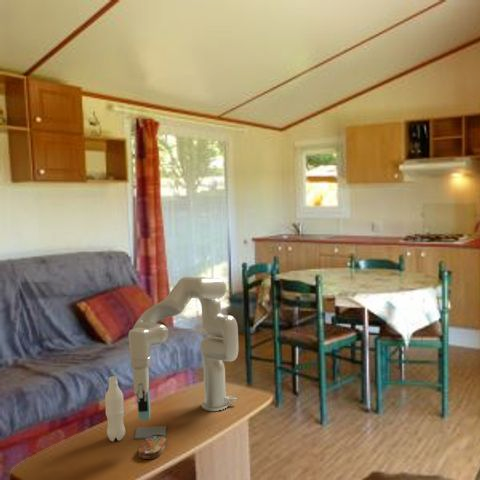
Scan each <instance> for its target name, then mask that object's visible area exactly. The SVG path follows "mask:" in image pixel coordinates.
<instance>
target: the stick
mask: <svg viewBox="0 0 480 480" xmlns="http://www.w3.org/2000/svg"><path fill="white" fill-rule="evenodd" d="M149 388H150V387H148V392H147V393H146V400H147V406H148V411H144V412H139V405H138V404H137V413H138V416H137V417H138V421H148V420H150V419H151V403H150V402H151V401H150V389H149ZM143 393H145V391H143ZM143 396H144V395H143ZM136 399H137V403H138V393H137V394H136Z"/></svg>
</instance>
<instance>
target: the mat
mask: <svg viewBox="0 0 480 480" xmlns="http://www.w3.org/2000/svg"><path fill="white" fill-rule="evenodd" d="M157 434H159V435H164V436H166V435H167V425H161V426H159V425H158V426H145V427H137V428H136V430H135V435H134V440H143V439H144V440H145V439H146V438H147V437H149V436H151V435H157Z"/></svg>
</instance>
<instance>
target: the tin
mask: <svg viewBox="0 0 480 480" xmlns="http://www.w3.org/2000/svg"><path fill="white" fill-rule="evenodd" d="M167 439H168V438H167V436H166V435H165V436H164V435H159V434H157V435H151V436H149V437H147V438H146V439H144V440H143V442H142V443H141V444H140V446H139V447H138V456H139V458H140V459H142V460H154V459H157V458H158V457H160V455H161V454H162V453H163V451H164V449H165V447H167V442H168V441H167Z"/></svg>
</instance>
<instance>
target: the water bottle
mask: <svg viewBox="0 0 480 480" xmlns="http://www.w3.org/2000/svg"><path fill="white" fill-rule="evenodd" d="M108 380H109V381H108V385H109V386H108V389H107V391H106V393H105V396H104V401H105V402H104V403H105V416H106V418H107V427H106V428H107V429H106V436H107V438H108V439H109V441H111V442H115V440H117V441H118V442H119V441H122V440H123V438H125V435H126V428H125V423H124V416H125V405H124V403H125V402H124V394H123V392H122V390H121V389H120V387H119V385H118V384H119V382H118V376H116V375H114V376H113V375H112V376H110V377H109V379H108Z"/></svg>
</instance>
